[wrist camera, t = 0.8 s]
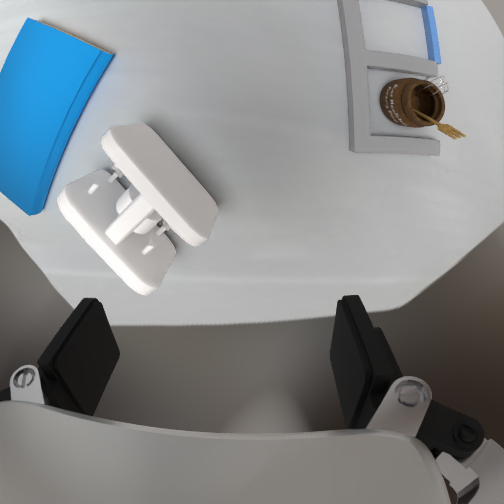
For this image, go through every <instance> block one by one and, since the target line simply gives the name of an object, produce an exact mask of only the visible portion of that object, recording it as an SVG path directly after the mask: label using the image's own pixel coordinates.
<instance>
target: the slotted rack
mask: <svg viewBox="0 0 504 504" xmlns="http://www.w3.org/2000/svg"><path fill="white" fill-rule="evenodd" d="M337 1H338V7H339V14H340V21H341V29H342V37H343V46H344V56H345V66H346V79H347V93H348V111H349V140H350V151H353V152H367V153H400V154H418V155H433V156H439V155H440V141H439V140H435V139H429V138H418V137H405V136H389V135H370V105H369V87H368V74H367V68H370V69H380V70H388V71H396V72H403V73H409V74H416V75H421V76H427V77H428V76H429V77H437V76H438V75H437V74H438V68H437V64H441V58H440V50H439V42H438V35H437V29H436V23H435V17H434V12H433V7H431V6H427V5H428V1H427V0H390V1H394V2H399V3H404V4H408V5H412V6H416V7H420V8H421V10H422V15H423V21H424V27H425V33H426V40H427V48H428V56H429V60H427V59H422V58H417V57H412V56H406V55H400V54H394V53H387V52H380V51H372V50H365V43H364V34H363V27H362V20H361V13H360V7H359V1H358V0H337ZM432 74H433V75H432ZM430 75H431V76H430Z"/></svg>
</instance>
